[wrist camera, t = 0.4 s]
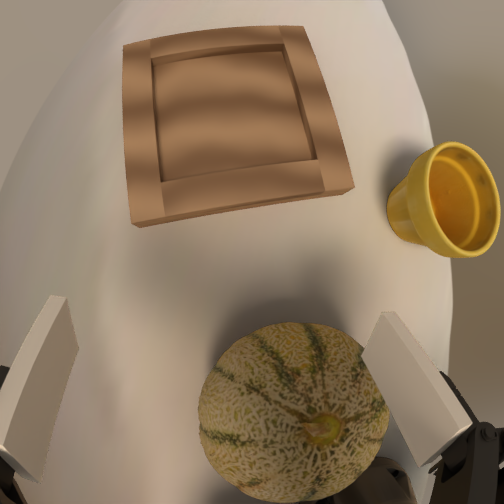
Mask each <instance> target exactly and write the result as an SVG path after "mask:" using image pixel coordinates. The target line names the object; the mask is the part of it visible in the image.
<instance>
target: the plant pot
mask: <svg viewBox="0 0 504 504" xmlns="http://www.w3.org/2000/svg"><path fill="white" fill-rule="evenodd" d="M387 216H388V220H389V223H390V225H391V227H392V229H393V231H394V232H395V233H396V234H397V235H398V236H399V237H400V238H401V239H403V240H405V241H407V242H411V243H416V244H420V245H423V246H427V247H428V248H430V249H431V250H432V251H434V252H435V253H437V254H439V255H441V256H444V257H452V258H464V257H476V256H479V255H481V254H483V253H484V252H486V251H487V250H488V249H489V248H490V246H491V245H492V243H493V241H494V240H495V238H496V235H497V232H498V229H499V224H500V200H499V194H498V190H497V187H496V184H495V181H494V178H493V176H492V174H491V172H490V170H489V168H488V166H487V165H486V163H485V162H484V161H483V159H482V158H481V157H480V156H479V155H478V154H477V153H476V152H475V151H473V149H471V148H470V147H468V146H466V145H464V144H462V143H459V142H444V143H441V144H439V145H437V146H435V147H433V148H431V149H429V150H428V151H426V152H425V153H423V154H422V155H420V156H419V157H418V158H417V159H416V160H415V161H414V163H413V164H412V166H411V168H410V170H409V173H408V175H407V176H406V177H405V178H404V179H403V180H402V181H401V182H400V183H399V184H398V185H397V186H396V187H395V188H394V189H393V190H392V192H391V193H390V195H389V198H388V202H387Z"/></svg>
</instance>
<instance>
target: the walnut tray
mask: <svg viewBox="0 0 504 504" xmlns="http://www.w3.org/2000/svg"><path fill="white" fill-rule="evenodd" d="M122 103H123V135H124V153H125V167H126V179H127V190H128V199H129V208H130V217H131V224H133V225H135V226H137V227H139V228H142V227H147V226H152V225H157V224H162V223H168V222H173V221H178V220H184V219H189V218H195V217H200V216H206V215H211V214H217V213H223V212H229V211H235V210H241V209H247V208H253V207H260V206H266V205H272V204H279V203H286V202H292V201H299V200H306V199H313V198H321V197H328V196H336V195H343V194H344V193H346V192H348V191H350V190H351V189H353V188H355V186H354V182H353V178H352V174H351V170H350V166H349V162H348V158H347V155H346V151H345V147H344V144H343V140H342V137H341V133H340V130H339V126H338V123H337V119H336V116H335V113H334V110H333V107H332V103H331V100H330V97H329V94H328V91H327V88H326V85H325V82H324V79H323V76H322V74H321V71H320V68H319V65H318V63H317V60H316V57H315V54H314V52H313V49H312V47H311V44H310V41H309V39H308V36H307V34H306V31H305V29H304V27H303V26H247V27H232V28H220V29H210V30H202V31H194V32H187V33H181V34H175V35H169V36H163V37H158V38H153V39H148V40H144V41H139V42H135V43H131V44H127V45H123V72H122Z"/></svg>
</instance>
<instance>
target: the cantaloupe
mask: <svg viewBox="0 0 504 504" xmlns="http://www.w3.org/2000/svg"><path fill="white" fill-rule="evenodd" d="M364 349H365V348H363V347H362V346H361V345H360V344H359V343H357V342H356V341H355V340H354V339H353V338H352V337H350V336H348V335H347V334H346V333H344V332H341V331H339V330H337V329H334V328H331V327H329V326H326V325H322V324H314V323H293V322H285V323H279V324H273V325H268V326H266V327H263V328H261V329H258V330H256V331H254V332H252V333H251V334H249V335H247V336H244V337H242V338H241V339H239V340H237V341H236V342H235V343H233V344H232V346H231V347H230V348H229V349H228V350H226V351H225V352H224V353H223V355H222V356H221V357H220V359H219V360H218V362H217V364H216V365H215V367H214V368H213V369H212V371H211V372H210V374H209V375H208V377H207V379H206V380H205V383H204V384H203V387H202V392H201V395H200V397H199V407H198V413H199V421H200V426H199V430H200V432H199V435H200V439H201V444H202V446H203V448H204V451H205V454H206V456H207V458H208V460H209V462H210V464H211V465H212V466H213V468H214V469H215V470H216V471H217V472H218V473H219V474H220V475H221V476H222V477H223V478H224V479H226V480H227V481H228V482H229V483H231V484H233V485H235V486H236V487H237V488H238V489H239V490H241V491H242V492H243V493H245V494H247V495H249V496H251V497H254V498H257V499H260V500H264V501H269V502H274V503H277V502H278V503H294V502H299V501H311V500H319V499H322V498H325V497H327V496H331V495H333V494H335V493H338V492H340V491H341V490H343V489H344V488H346V487H347V486H349V485H350V484H351V483H353V482H354V481H355V480H356V479H357V478H358V477H359V476H360V474H361V473H362V472H363V471H365V470H366V469H367V468H368V466H369V465H370V464H371V462H372V461H373V460H374V458H375V456H376V454H377V453H378V451H379V449H380V447H381V444H382V441H383V438H384V435H385V432H386V430H387V428H388V422H389V417H390V414H389V408H388V406H387V404H386V402H385V400H384V398H383V396H382V394H381V393H380V391H379V389H378V387H377V385H376V383H375V381H374V379H373V377H372V376H371V374H370V372H369V370H368V368H367V366H366V364H365V363H364V361H363V359H362V357H361V355H362V353H363V351H364Z"/></svg>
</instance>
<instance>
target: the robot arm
mask: <svg viewBox="0 0 504 504" xmlns="http://www.w3.org/2000/svg"><path fill="white" fill-rule="evenodd" d="M78 350H79V346H78V343H77V339H76V335H75V331H74V327H73V323H72V319H71V315H70V310H69V306H68V301H67V297H60V296H53V295H50V297H49V298H48V300H47V302H46V303H45V305H44V307H43V308H42V310H41V312H40V313H39V315H38V317H37V319H36V320H35V322H34V324H33V326H32V327H31V329H30V331H29V333H28V335H27V337H26V338H25V340H24V342H23V344H22V346H21V348H20V350H19V352H18V354H17V356H16V358H15V360H14V362H13V364H12V366H11V368H9V367H5V366H2V365H1V366H0V504H27V502H26V500H25V498H24V496H23V494H22V492H21V490H20V488H19V486H18V484H17V482H16V481H15V479H14V478H13V476H14V472H15V471H16V472H17V473H18V474H19V475H20V476H21V477H22V478H25V479H28V480H31V481H34V482H37V483H40V484H41V483H42V477H43V472H44V467H45V463H46V458H47V453H48V449H49V445H50V441H51V437H52V433H53V429H54V425H55V422H56V418H57V414H58V411H59V407H60V404H61V401H62V397H63V394H64V391H65V388H66V385H67V382H68V379H69V375H70V373H71V370H72V367H73V364H74V361H75V358H76V355H77V353H78ZM361 357H362V359H363V361H364V363H365V364H366V366H367V368H368V370H369V372H370V374H371V376H372V377H373V379H374V381H375V383H376V385H377V387H378V389H379V391H380V393H381V394H382V396H383V398H384V400H385V402H386V404H387V406H388V408H389V410H390V412H391V414H392V416H393V418H394V420H395V422H396V424H397V426H398V428H399V430H400V432H401V434H402V436H403V438H404V440H405V442H406V444H407V446H408V448H409V450H410V452H411V454H412V456H413V458H414V460H415V462H416V464H417V466H418V468H419V467H421V466H424V465H426V464H428V463H431V462H432V461H433V460H435V459H436V458H437V457H438V456H439V455H440V454H441V456H442V459H441V460H440V461H439V462H438V463H437V464H435V465H434V466H433V467H432V468H431V469H430V470H429V472H428V473H429V474H430V473H432V472H433V471H434V470H436V469H437V468H438V470H437V471H436V472H435V473H434V475H436V479H435V483H434V487H433V491H432V495H431V499H430V503H429V504H504V467H503V468H502V469H500V468H499V464H500V463H502V462H503V461H504V428H495V427H494V426H493V425H492V424H490V423H488V422H481V423H480V422H479V421H478V420H477V418H476V417H475V415H474V414H473V412H472V410H471V409H470V407H469V406H468V404H467V403H466V402H465V400H464V398H463V397H462V396H461V394H460V392H459V391H458V389H456V386H455V385H454V384H453V382H452V381H451V379H450V378H449V377H448V376H447V375H445V374H444V373H443V372H442V371H438V370H437V368H436V367H435V365H434V364H433V363H432V361H431V360H430V358H429V357H428V355H427V354H426V353H425V351H424V350H423V349H422V347H421V346H420V344H419V343H418V342H417V340H416V339H415V338H414V336H413V335H412V334H411V332H410V331H409V330H408V328H407V327H406V326H405V324H404V323H403V322H402V320H401V319H400V318H399V316H398V315H397V314H396V312H382V313H381V315H380V318H379V320H378V322H377V324H376V326H375V328H374V331H373V333H372V335H371V337H370V339H369V341H368V343H367V345H366V347H365V349H364V351H363V353H362V355H361ZM299 504H417V501H416V498H415V495H414V491H413V488H412V485H411V482H410V479H409V477H408V475H407V473H406V471H405V470H404V469H403V468H402V467H401V466H400V465H399V464H398V463H396V462H395V461H394V460H392V459H389V458H384V457H375V458H374V460H373V461H372V462H371V464H370V465H369V466H368V468H367V469H366V470H365V471H363V472H362V473H361V474H360V476H359V477H358V478H357V479H356V480H355V481H354V482H353V483H351V484H350V485H349V486H347V487H346V488H344V489H343V490H341V491H340V492H338V493H335V494H333V495H331V496H327V497H325V498H322V499H319V500H311V501H300V503H299Z"/></svg>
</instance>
